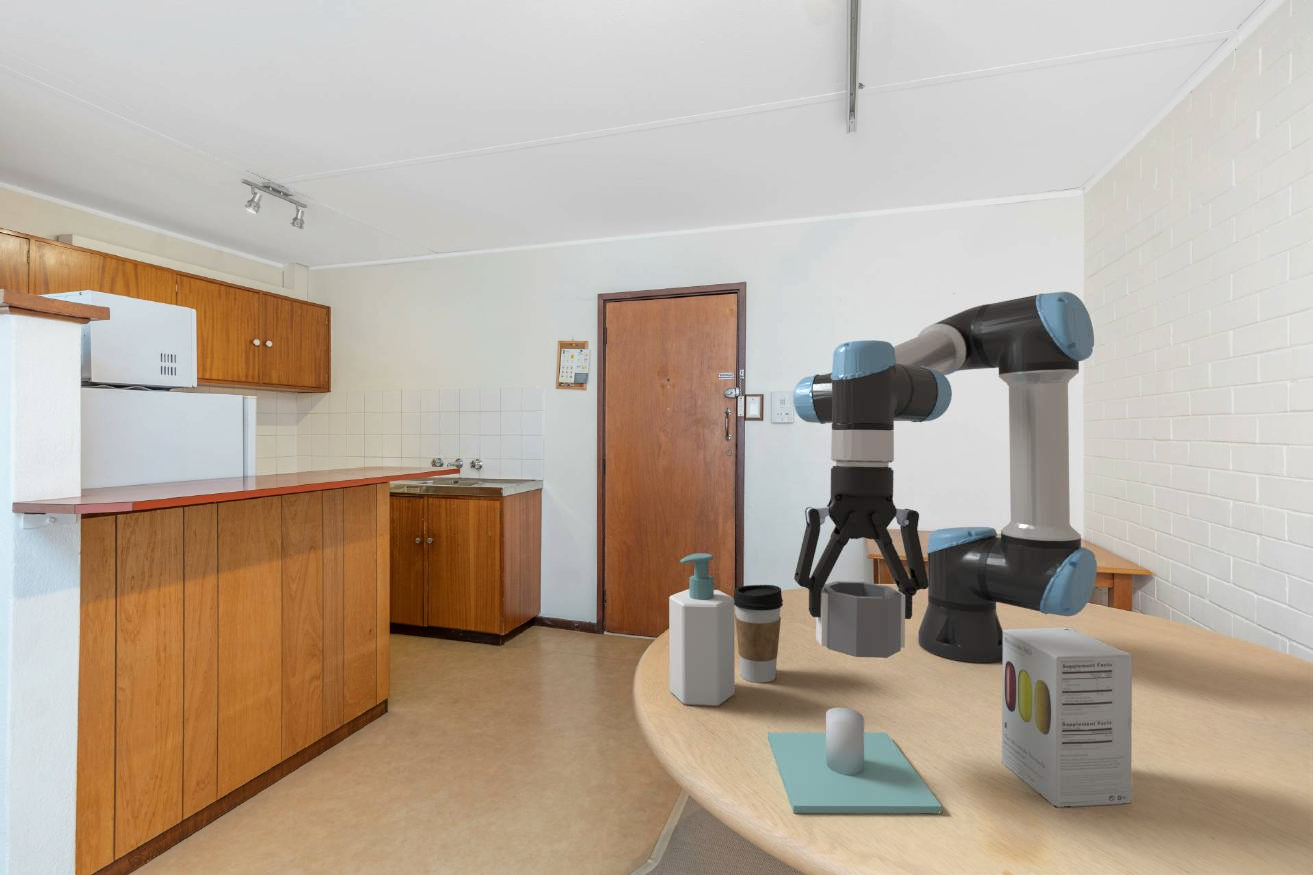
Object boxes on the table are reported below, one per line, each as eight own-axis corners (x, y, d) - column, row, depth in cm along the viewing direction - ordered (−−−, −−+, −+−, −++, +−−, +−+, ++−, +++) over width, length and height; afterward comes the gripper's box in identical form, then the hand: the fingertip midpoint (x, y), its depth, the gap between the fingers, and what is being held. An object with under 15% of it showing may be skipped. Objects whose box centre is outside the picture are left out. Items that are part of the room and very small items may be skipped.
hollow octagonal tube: (882, 634, 79) (882, 582, 79) (909, 658, 71) (909, 599, 71) (815, 633, 80) (816, 580, 80) (834, 656, 71) (835, 597, 71)
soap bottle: (662, 685, 97) (662, 551, 97) (711, 676, 101) (711, 547, 101) (690, 712, 88) (690, 563, 88) (743, 701, 92) (743, 558, 92)
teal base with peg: (886, 738, 80) (886, 687, 80) (941, 813, 64) (941, 750, 64) (767, 738, 80) (767, 687, 80) (793, 812, 64) (793, 750, 64)
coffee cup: (783, 687, 96) (783, 595, 96) (731, 683, 98) (730, 593, 98) (783, 668, 105) (782, 583, 105) (734, 664, 106) (734, 580, 106)
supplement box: (999, 761, 74) (998, 627, 74) (1068, 758, 75) (1067, 625, 75) (1057, 809, 65) (1056, 655, 65) (1135, 805, 66) (1135, 652, 66)
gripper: (934, 465, 79) (932, 635, 79) (771, 462, 79) (768, 632, 79) (962, 467, 71) (960, 655, 71) (782, 464, 72) (779, 651, 71)
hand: (859, 643), depth 75 cm, fingers closed on hollow octagonal tube, 9 cm apart
